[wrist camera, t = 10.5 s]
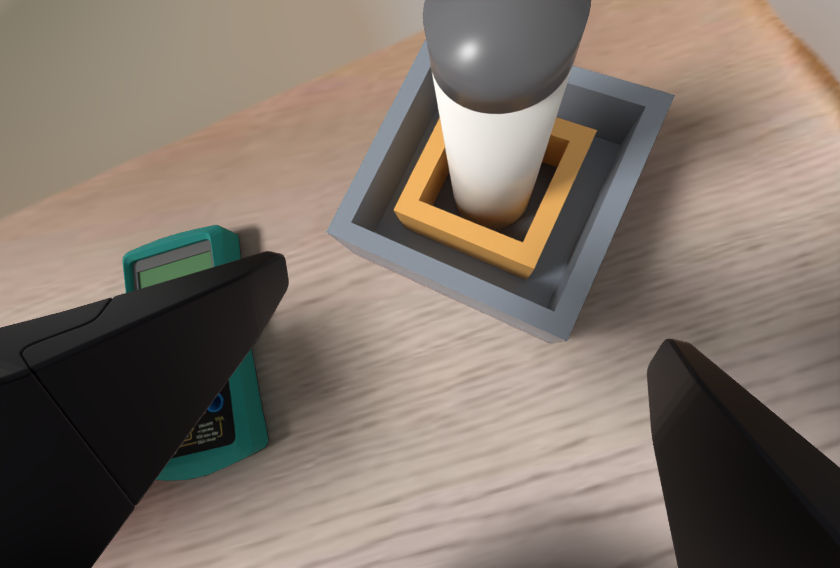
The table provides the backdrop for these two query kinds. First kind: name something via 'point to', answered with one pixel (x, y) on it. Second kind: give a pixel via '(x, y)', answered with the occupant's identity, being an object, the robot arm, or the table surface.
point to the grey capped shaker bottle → (499, 94)
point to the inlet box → (533, 232)
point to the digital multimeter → (243, 396)
